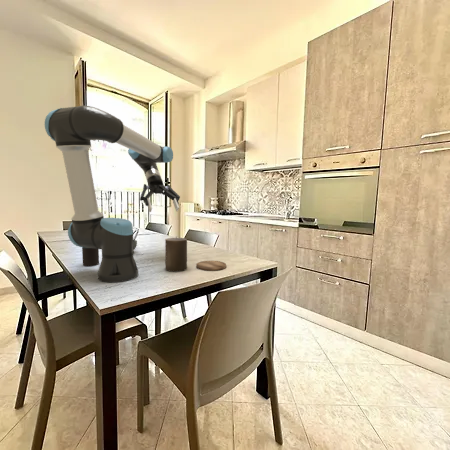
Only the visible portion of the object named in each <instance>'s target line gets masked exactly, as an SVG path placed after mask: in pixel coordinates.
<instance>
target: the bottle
mask: <svg viewBox="0 0 450 450" xmlns="http://www.w3.org/2000/svg"><path fill="white" fill-rule="evenodd" d="M81 249H82V250H81V251H82V252H81V253H82V255H81V256H82V266H84V267H95V266H97V265H98V266H99V265H100V253H99V250H100V249H92V248H82V247H81Z"/></svg>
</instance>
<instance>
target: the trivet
mask: <svg viewBox="0 0 450 450" xmlns="http://www.w3.org/2000/svg"><path fill="white" fill-rule="evenodd" d="M195 265H196V266H195V267H196V269H198V270H200V271H204V272H205V271H206V272H216V271H217V272H218V271H223V270H225V269H226V268H227V264H226V263H225V262H223V261H219V260H204V261H202V260H201V261H199V262H197V263H196V264H195Z"/></svg>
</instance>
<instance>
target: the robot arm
mask: <svg viewBox="0 0 450 450" xmlns="http://www.w3.org/2000/svg"><path fill="white" fill-rule="evenodd" d="M44 130H45V133H46V134H47V135H48V137H50V139H51V140H52V141H54V143H55V147H56V148H57V149H58V150H60V151H61V152H62V156H63V157H62V158H63V162H64V167H65V171H66V172H65V173H66V177H67V182H68V187H69V193H70V195H71V202H72V206H73V211H74V214H73V216H72V217H71V223H70V224H69V227H68V229H67V236H68V238H69V240H70V242H71V243H72V244H73V245H75V246H76V247H80V248H81V249H82V248H92V249H99V250H101V260H100V263H99V267H98V270H97V280H99V281H100V282H102V283H103V282H104V283H119V282H126V281H130V280H134V279H135V278H137V277H138V276H139V268H138V267H137V263H136V261H135V258H134V253H133V251H134V250H133V240H134V228H133V222H131V221H130V220H128V219H126V218H119V217H105V216H104V213H102V212H100V210H99V206H98V201H97V200H98V199H97V195H96V189H95V183H94V179H93V173H92V166H91V162H90V157H89V156H90V155H89V150H90V149H91V148H92V143H91V141H104V142H107V143H110V144H118V145H120V146H122V147H125V148H127V149H128V151H127V153H128V155H129V157H130V158H131V159H132V160H133V161H134V162H135V163H136V165H138V167H140V169H142V171H143V172H144V175H145V179H146V183H147V184H146V183H144V184H143V187H142V191H141V194H140V198H139V201H142V202H143V203H144V205H145V207H148V211H149V213H152V209H153V207H152V203H151V200H150V198H151V196H153V194H155V195H157V194H158V195H161V194H162V195H163V196H166V197H167V198H169V199H170V200H172V204H173V206H174V209H175V212H178V211H179V209H180V206H179V205H180V203H179V201H180V198H181V195H179V194H178V193H177V192H176V191H175V190H174V189H173V188H172V187H171V185H170V184H167V186H165V185H164V182H163V179H162V176H161V173H160V171H159V167H158V164H159V163H165V164H166V163H171V162H172V161H173V160H174V151H173V149H172V148H171V147H170V146H165V145H164V146H162V145H159V144H158V143H156V142H155V141H153V140H150V139H149V138H147V137H146V136H144V135H142V134H140V133H138V132H137V131H135V130H134V129H132V128H130V127H128V126H127V125H125V124H124V122H123V121H122V120H121V119H120V118H118V117H116V116H115V115H112V114H111V113H109V112H107V111H104V110H102V109H100V108H97V107H94V106H91V105H78V106H70V107H69V106H68V107H60V108H57V109H52V110H51V111H49V112H48V113H47V115H46V116H45V118H44ZM157 163H158V164H157ZM148 190H149V191H148ZM146 191H148V193H147V192H146ZM146 193H147V194H146Z"/></svg>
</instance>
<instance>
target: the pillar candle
mask: <svg viewBox="0 0 450 450" xmlns="http://www.w3.org/2000/svg"><path fill="white" fill-rule="evenodd" d="M164 241H165V247H164V248H165V251H164V253H165V257H164V258H165V259H164V261H165V263H164V265H165V271H168V272H175V273H177V272H184V271H186V270H187V269H188V238H185V237H178V236H175V237H170V238H165V240H164Z"/></svg>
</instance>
